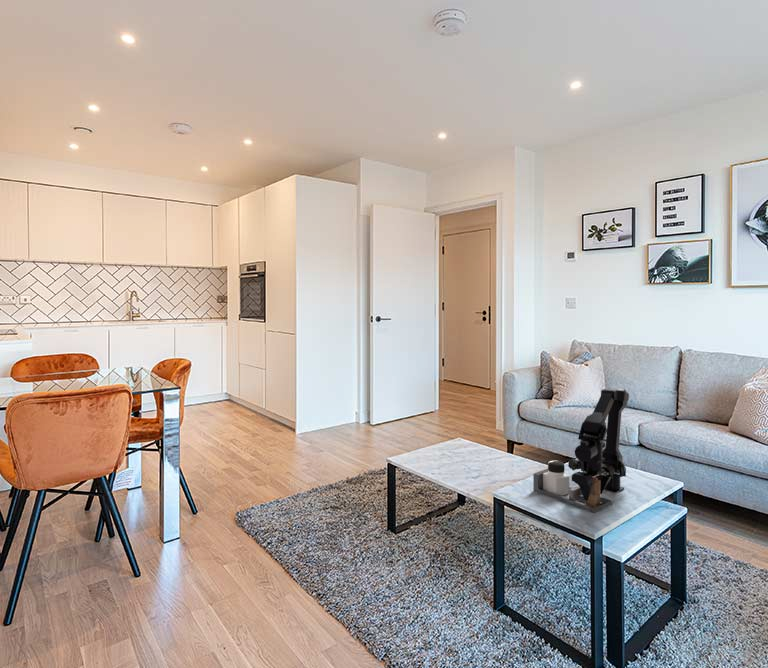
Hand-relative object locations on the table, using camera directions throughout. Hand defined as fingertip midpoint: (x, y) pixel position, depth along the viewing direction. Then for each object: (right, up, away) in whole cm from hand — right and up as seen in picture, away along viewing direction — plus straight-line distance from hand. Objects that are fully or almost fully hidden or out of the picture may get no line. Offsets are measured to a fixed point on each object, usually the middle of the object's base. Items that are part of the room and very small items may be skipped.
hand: (593, 497), depth 178 cm
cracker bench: (-5, -3, +7) cm, 9 cm away
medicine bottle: (-9, -3, +13) cm, 16 cm away
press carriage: (-1, -3, +2) cm, 4 cm away
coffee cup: (+14, -1, +34) cm, 36 cm away
